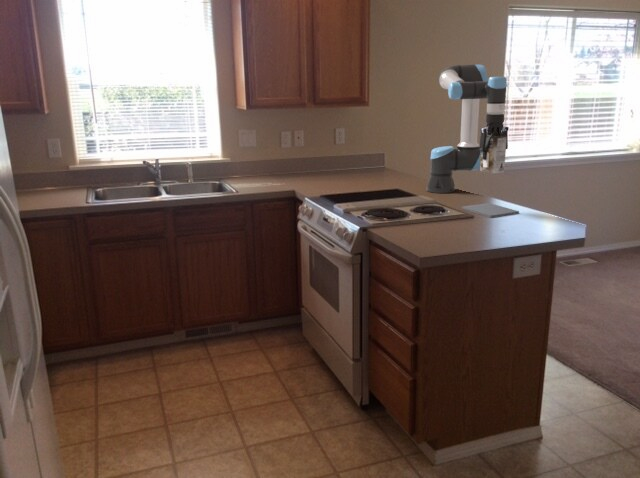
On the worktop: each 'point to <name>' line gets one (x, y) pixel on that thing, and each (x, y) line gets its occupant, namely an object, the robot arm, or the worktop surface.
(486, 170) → the coffee box
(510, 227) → the worktop surface
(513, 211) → the mat
